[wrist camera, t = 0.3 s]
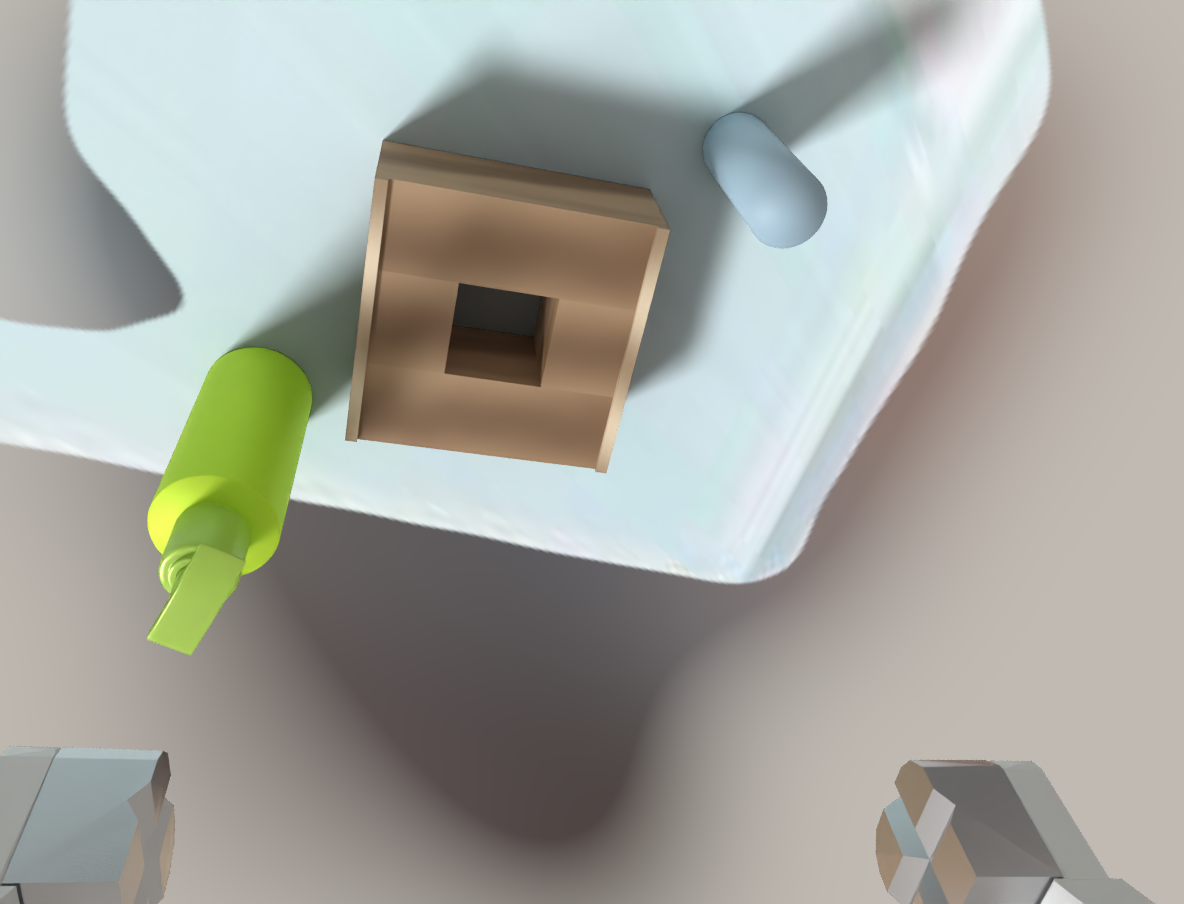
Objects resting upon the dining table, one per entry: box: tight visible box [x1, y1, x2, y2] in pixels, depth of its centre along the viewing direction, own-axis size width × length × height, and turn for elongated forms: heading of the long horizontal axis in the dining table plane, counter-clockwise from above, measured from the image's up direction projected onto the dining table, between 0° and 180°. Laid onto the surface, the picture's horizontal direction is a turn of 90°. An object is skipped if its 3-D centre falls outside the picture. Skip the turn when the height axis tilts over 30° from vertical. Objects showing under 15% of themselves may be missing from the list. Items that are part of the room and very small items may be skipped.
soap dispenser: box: [147, 347, 312, 655], centre depth 51 cm, size 6×7×20 cm
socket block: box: [345, 140, 670, 473], centre depth 55 cm, size 14×14×6 cm
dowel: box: [703, 112, 827, 248], centre depth 51 cm, size 4×4×10 cm
